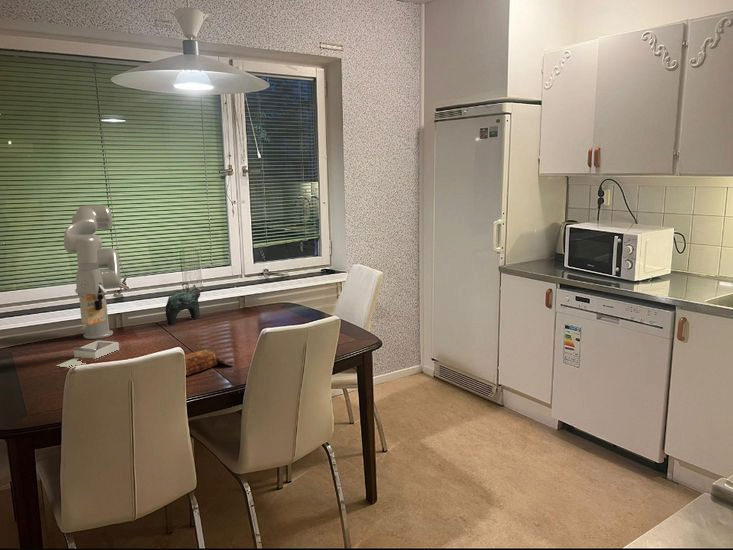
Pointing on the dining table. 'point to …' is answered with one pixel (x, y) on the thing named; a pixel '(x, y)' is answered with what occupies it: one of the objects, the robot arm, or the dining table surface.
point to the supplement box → (90, 310)
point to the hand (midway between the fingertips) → (92, 308)
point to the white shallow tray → (92, 351)
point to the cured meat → (202, 361)
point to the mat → (71, 363)
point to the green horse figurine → (183, 304)
